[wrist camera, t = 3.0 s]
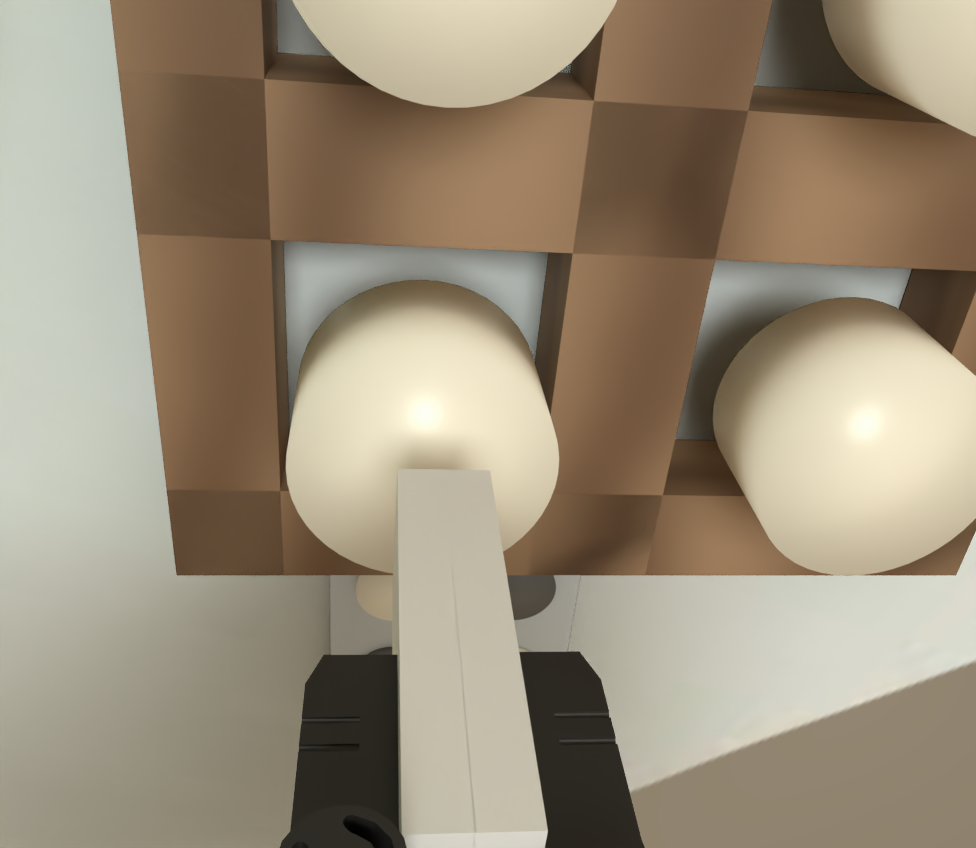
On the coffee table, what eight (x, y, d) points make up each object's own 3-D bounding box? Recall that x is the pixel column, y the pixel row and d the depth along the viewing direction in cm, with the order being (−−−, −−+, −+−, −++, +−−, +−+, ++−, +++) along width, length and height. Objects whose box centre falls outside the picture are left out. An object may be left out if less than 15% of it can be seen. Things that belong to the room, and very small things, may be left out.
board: (194, 511, 24) (176, 575, 22) (89, -558, 14) (37, -629, 12) (910, 517, 27) (955, 575, 25) (1269, -385, 17) (1399, -419, 14)
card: (331, 708, 29) (330, 721, 28) (330, 527, 25) (329, 539, 25) (555, 704, 30) (557, 717, 29) (585, 529, 26) (588, 540, 26)
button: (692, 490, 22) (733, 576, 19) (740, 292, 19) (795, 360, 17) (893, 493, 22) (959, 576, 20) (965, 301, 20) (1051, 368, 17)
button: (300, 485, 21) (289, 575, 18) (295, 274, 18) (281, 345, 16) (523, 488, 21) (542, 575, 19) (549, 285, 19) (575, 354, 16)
